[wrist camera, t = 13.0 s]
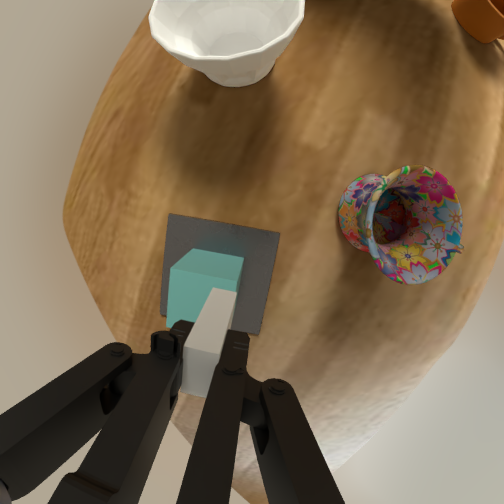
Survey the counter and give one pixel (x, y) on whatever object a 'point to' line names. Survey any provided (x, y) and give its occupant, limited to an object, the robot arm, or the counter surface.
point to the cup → (226, 35)
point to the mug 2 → (481, 18)
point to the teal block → (200, 282)
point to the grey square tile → (230, 243)
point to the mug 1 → (404, 222)
